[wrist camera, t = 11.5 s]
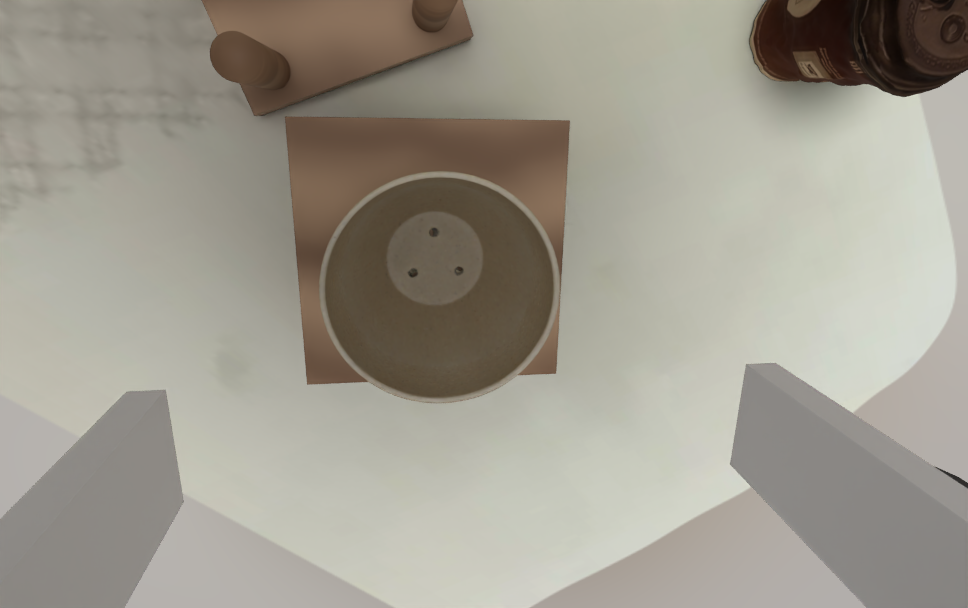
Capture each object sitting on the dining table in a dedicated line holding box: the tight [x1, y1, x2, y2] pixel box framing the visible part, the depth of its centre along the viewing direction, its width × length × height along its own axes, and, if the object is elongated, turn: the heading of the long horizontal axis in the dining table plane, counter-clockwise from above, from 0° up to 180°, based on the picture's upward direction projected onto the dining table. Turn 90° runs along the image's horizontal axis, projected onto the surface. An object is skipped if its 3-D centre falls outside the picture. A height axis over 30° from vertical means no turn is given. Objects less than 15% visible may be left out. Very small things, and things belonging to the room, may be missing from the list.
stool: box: [285, 117, 570, 384], centre depth 36 cm, size 14×14×10 cm
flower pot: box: [319, 171, 560, 403], centre depth 28 cm, size 10×10×7 cm
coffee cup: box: [750, 0, 968, 97], centre depth 34 cm, size 9×8×13 cm
